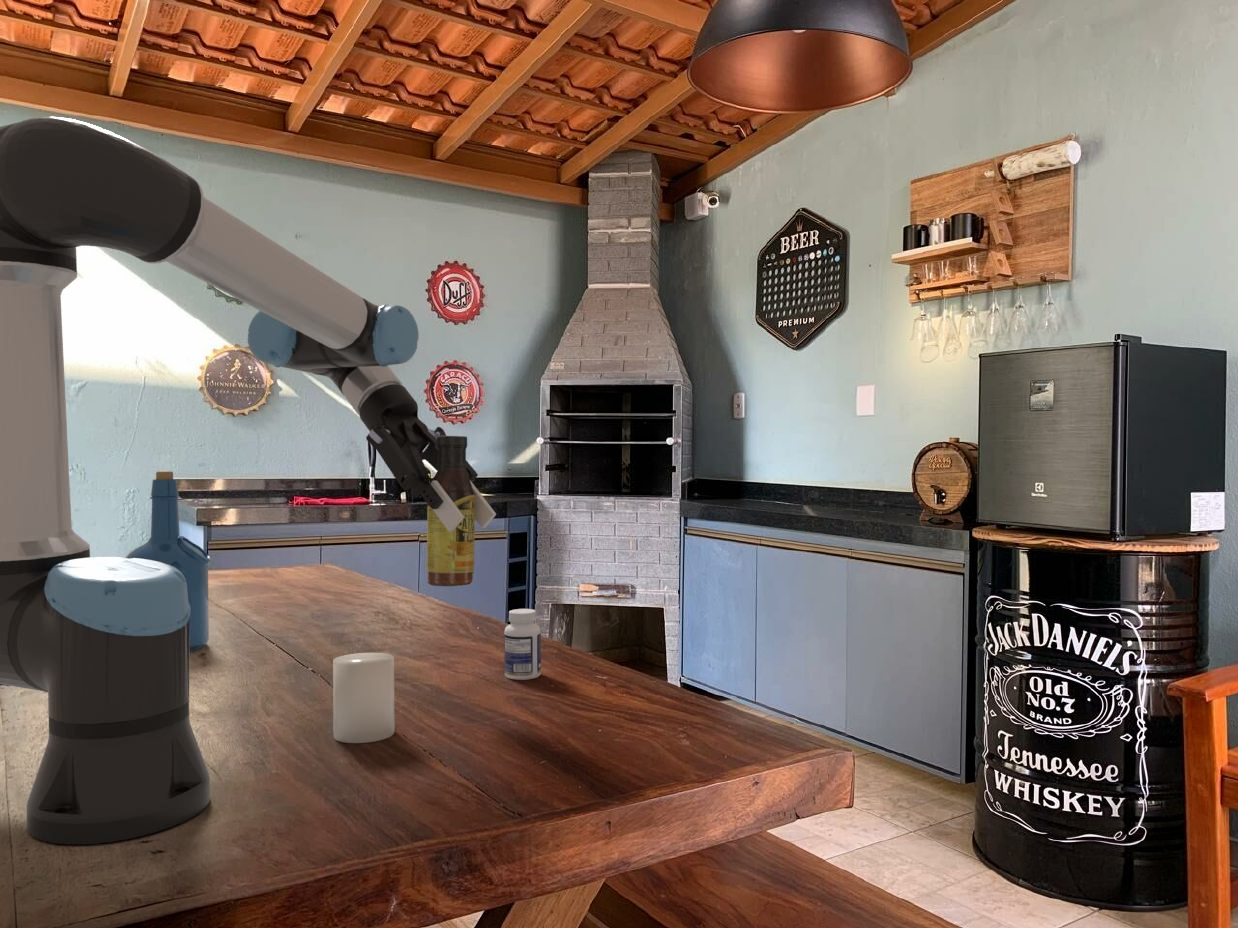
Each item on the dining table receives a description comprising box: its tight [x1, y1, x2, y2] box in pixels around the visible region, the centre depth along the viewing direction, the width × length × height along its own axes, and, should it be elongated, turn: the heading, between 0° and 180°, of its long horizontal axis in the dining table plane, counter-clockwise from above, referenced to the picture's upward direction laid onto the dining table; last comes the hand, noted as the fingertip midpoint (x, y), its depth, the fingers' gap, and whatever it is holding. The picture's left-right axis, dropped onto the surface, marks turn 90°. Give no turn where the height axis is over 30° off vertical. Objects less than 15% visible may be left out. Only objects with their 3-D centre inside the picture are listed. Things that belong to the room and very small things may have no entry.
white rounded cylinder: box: [332, 652, 395, 744], centre depth 111 cm, size 7×7×9 cm
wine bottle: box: [125, 470, 212, 652], centre depth 157 cm, size 14×13×30 cm
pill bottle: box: [503, 608, 542, 681], centre depth 139 cm, size 5×5×10 cm
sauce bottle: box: [426, 435, 476, 587], centre depth 124 cm, size 7×6×20 cm
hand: (473, 522), depth 123 cm, fingers closed on sauce bottle, 6 cm apart
